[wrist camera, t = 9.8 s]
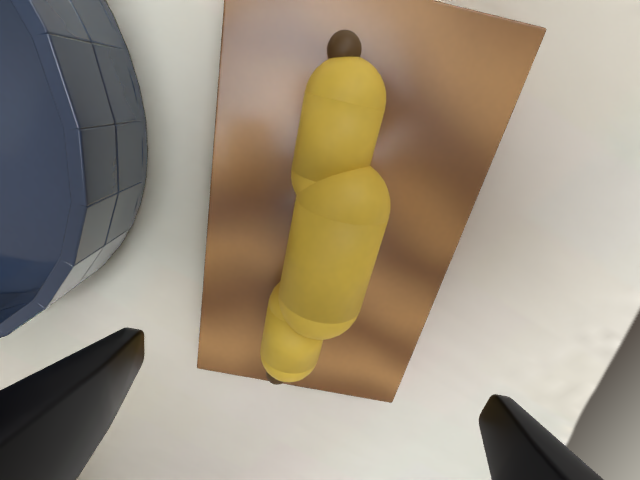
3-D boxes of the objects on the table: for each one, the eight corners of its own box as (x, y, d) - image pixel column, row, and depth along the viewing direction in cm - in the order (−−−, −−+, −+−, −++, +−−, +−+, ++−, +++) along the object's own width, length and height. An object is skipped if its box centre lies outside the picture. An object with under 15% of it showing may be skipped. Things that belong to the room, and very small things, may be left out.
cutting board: (389, 387, 21) (392, 403, 20) (203, 354, 21) (196, 368, 20) (530, 33, 13) (548, 27, 12) (236, -39, 13) (227, -52, 12)
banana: (332, 369, 19) (332, 429, 16) (261, 356, 19) (245, 414, 16) (424, 55, 13) (459, 41, 9) (318, 30, 13) (313, 5, 9)
